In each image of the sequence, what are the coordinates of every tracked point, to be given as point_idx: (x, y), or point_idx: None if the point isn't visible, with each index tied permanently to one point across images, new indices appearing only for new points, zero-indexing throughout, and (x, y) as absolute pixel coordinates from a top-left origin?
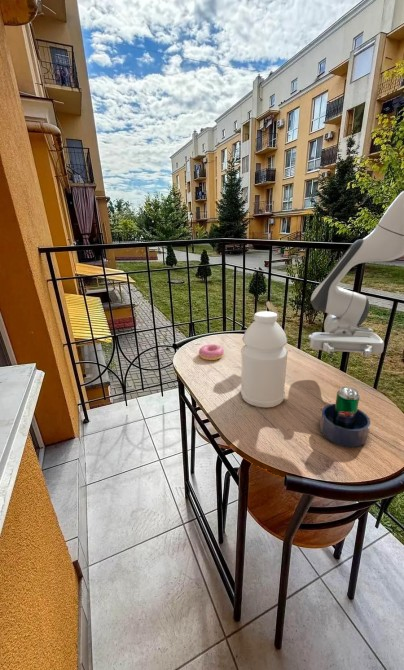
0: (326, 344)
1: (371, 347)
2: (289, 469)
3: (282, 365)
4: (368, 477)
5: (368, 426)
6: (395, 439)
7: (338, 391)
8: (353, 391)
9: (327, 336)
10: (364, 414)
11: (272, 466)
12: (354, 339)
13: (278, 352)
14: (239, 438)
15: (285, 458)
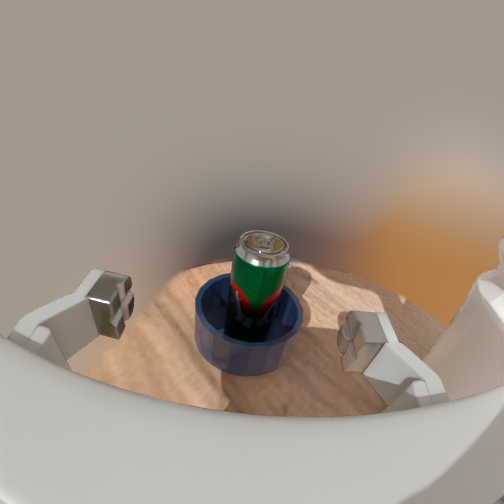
0: (419, 366)
1: (40, 307)
2: (328, 271)
3: (462, 313)
4: (230, 263)
5: (209, 280)
6: (141, 318)
7: (288, 255)
8: (252, 240)
9: (462, 501)
10: (200, 310)
11: (348, 274)
12: (94, 454)
13: (495, 276)
14: (403, 306)
15: (337, 283)
